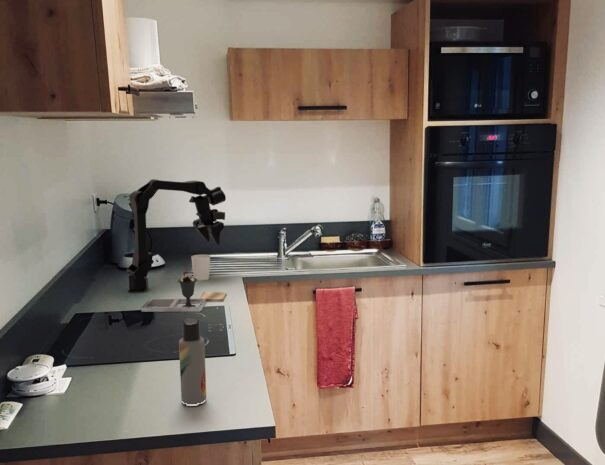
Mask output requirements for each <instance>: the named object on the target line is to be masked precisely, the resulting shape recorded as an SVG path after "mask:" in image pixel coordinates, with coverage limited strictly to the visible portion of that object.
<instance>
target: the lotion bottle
mask: <svg viewBox="0 0 605 465" xmlns="http://www.w3.org/2000/svg"><path fill="white" fill-rule="evenodd" d="M200 324H201V323H200V319H198V318H197V317H193V316H190V317H187V318H184V319H183V320H182V328H181V329H182V338H180V339H179V341H178V351H179V354H178V355H179V373H180V374H179V376H180V394H181V395H180V398H181V402H182V401H183V402H184V403H187V404H197V403H201V402H203V401H204V400H205V399H206V400H207V380H206V379H207V378H206V373H207V372H206V348H205V338H203V337H202V336H201V327H200Z"/></svg>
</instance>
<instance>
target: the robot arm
mask: <svg viewBox="0 0 605 465" xmlns="http://www.w3.org/2000/svg"><path fill="white" fill-rule="evenodd" d="M159 190H160V191H161V190H163V191H164V190H165V191H177V192H185V193H188V194H192V195H191V198H189V201H188V202H189V203H192V204H193V203H194V205H195V209H196V211H197V212H196V213H195V215H196V216H198V218H197V219H194V220H193V221H192V225H193V228H195V230H197V232H198V233H199V234H200V235H201V236H202V237H203V239H204V240H205V241H206V242H210V240H211V239H210V237H211V238H212V241H213V242H214V243H215V244H216V245H220V243H221V240H220V239H221V232H222V231H223V230H224V229H225V227H226V226H225V224H224V222H222V221H218V220H223V221H224V220H226V212H224V211H219V210H218V209H217V208H211V206H215V205H218V204H222V203H224V202H225V201H226V194H225V192H224V191H223V190H222V188H221V186H217V187H215V188H213V189H210V188H208V187H207V186H206V184H205V182H204V181H199V180H188V181H172V180H159V179H154V178H153V179H150V180H149V181H148V182H147V183H146V184H144V185H142V186H141V187H140V188H138V189H137V190H134V191H132V192H131V193H130V194H129V204H130V208H131V210H132V212H133V220H134V241H135V242H134V245H135V246H134V247H135V248H134V252H133V254H132V261H131V264H130V265H129V266H128V267H127V268H126V272H127V274H128V275H129V276H128V282H129V283H128V288H129V289H128V291H127V292H128V293H145V292H146V291H147V290H148V289H149V278H148V274H149V271H150V270H151V269H152V266H153V264H154V261H153V253H152V252H150V251H148V239H147V238H148V236H147V233H148V232H147V211H148V209H149V204H150V200H151V199H152V198H153V197H154V196H155V195H156V193H157V192H158V191H159ZM194 195H197V196H194ZM210 205H211V206H210Z"/></svg>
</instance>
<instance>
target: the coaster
mask: <svg viewBox="0 0 605 465" xmlns="http://www.w3.org/2000/svg"><path fill="white" fill-rule="evenodd" d="M226 297H227V292H226V291H223V292H222V291H221V292H218V291H217V292H216V291H215V292H214V291H213V292H210V291H209V292H207V291H206V292H202V293H201V295H200V297H199V298H198V299H206V303H207V302H208V303H209V302H212V303H213V302H214V303H215V302H216V303H217V302H220V303H221V302H224V300H225V298H226Z"/></svg>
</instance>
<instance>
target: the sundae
mask: <svg viewBox="0 0 605 465" xmlns="http://www.w3.org/2000/svg"><path fill="white" fill-rule="evenodd" d="M184 267H185V268H187V265H184ZM177 282H178V283H179V284H180V289H181V294H182V296H183V297H184V298H185V299H187V302H186V303H185V304H184V305H182V306H181V307H196V305H195V304H193V303H190V299H191V297H193V295H194V294H195V293H194V292H195V285H196V282H197V279H196V278H194V277H193V276H192V274H191V273H190V272H189V271H188V269H186V270H184V271H183V274H181V278H179V279H178V281H177Z"/></svg>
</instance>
